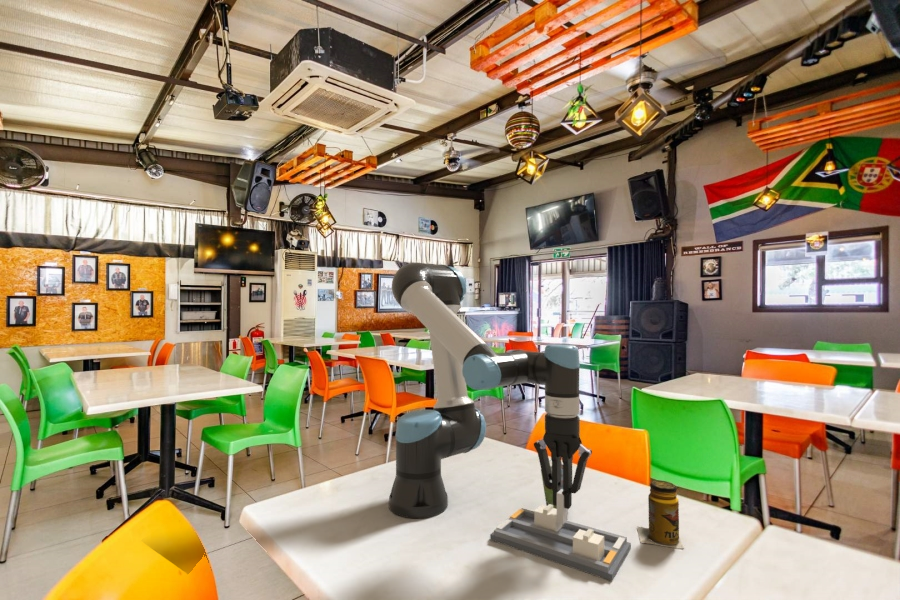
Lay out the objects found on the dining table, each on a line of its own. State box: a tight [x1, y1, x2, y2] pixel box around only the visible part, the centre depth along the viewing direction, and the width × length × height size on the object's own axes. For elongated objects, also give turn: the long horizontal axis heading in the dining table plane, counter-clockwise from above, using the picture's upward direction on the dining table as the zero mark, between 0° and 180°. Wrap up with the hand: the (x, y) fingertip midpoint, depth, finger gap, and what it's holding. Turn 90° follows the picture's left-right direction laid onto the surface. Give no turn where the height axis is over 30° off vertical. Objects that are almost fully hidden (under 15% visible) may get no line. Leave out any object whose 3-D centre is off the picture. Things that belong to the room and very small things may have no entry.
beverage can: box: [540, 459, 563, 509], centre depth 113 cm, size 6×7×12 cm
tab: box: [573, 529, 604, 561], centre depth 89 cm, size 5×4×4 cm
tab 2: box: [534, 504, 562, 532], centre depth 101 cm, size 5×4×4 cm
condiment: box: [636, 480, 684, 550], centre depth 99 cm, size 7×8×12 cm
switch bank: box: [489, 508, 632, 582], centre depth 96 cm, size 26×14×2 cm, turn 55°
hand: (562, 521), depth 99 cm, fingers closed
